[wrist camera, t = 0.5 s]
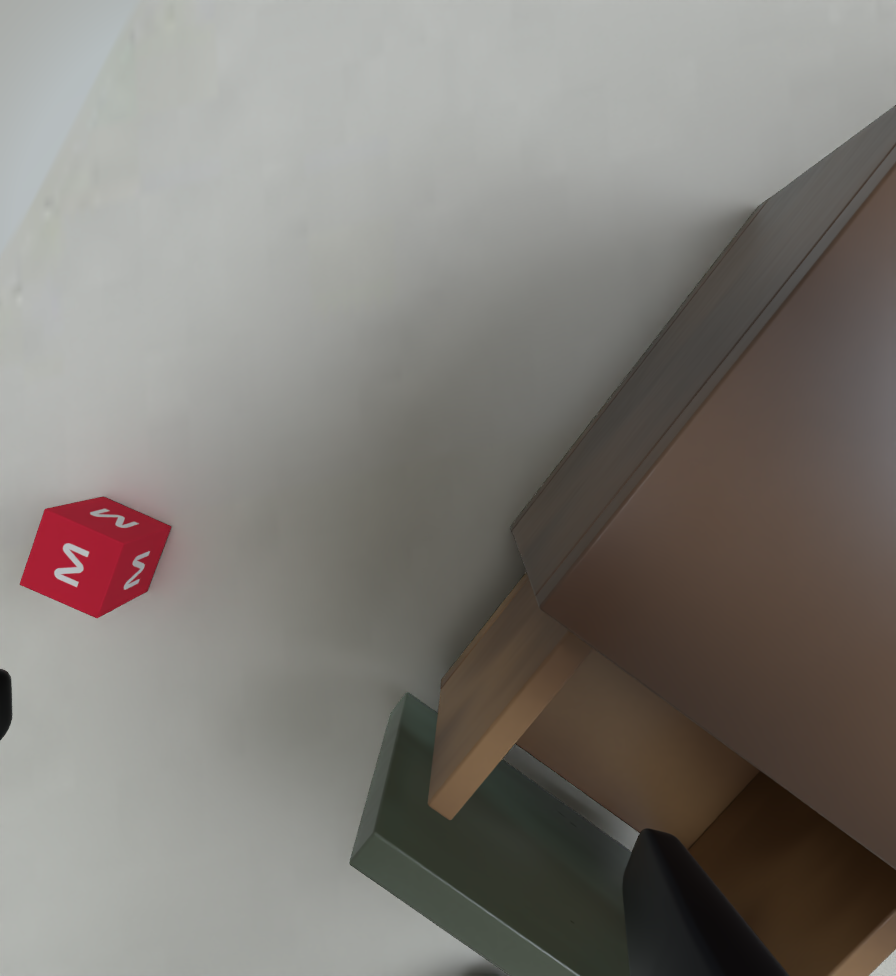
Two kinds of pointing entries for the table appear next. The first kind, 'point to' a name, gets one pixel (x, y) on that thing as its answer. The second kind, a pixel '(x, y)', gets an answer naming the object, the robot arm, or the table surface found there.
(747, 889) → the drawer
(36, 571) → the red letter m cube
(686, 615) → the cabinet
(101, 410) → the table surface
